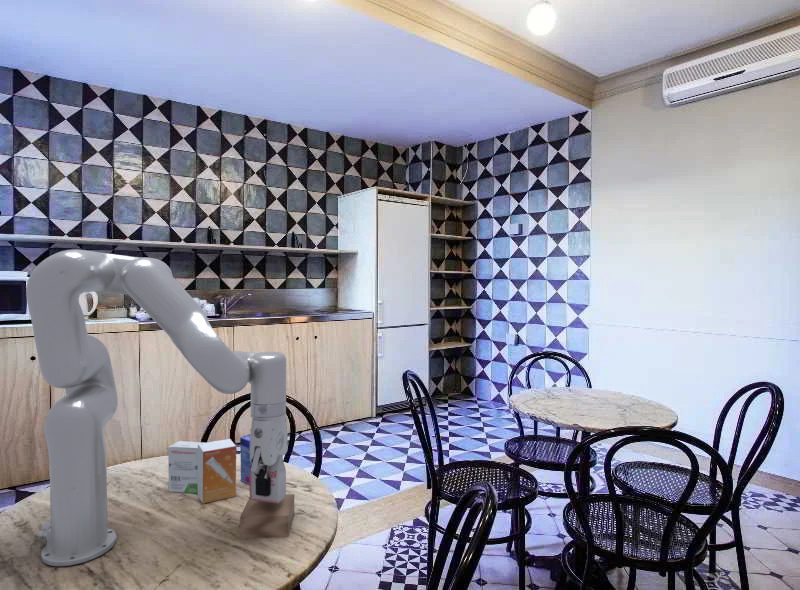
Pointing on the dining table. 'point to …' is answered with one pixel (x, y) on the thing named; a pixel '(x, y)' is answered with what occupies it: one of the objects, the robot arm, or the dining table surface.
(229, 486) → the small box
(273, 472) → the white carton
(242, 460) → the ink cartridge box
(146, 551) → the dining table surface
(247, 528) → the base block
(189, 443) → the ink box
